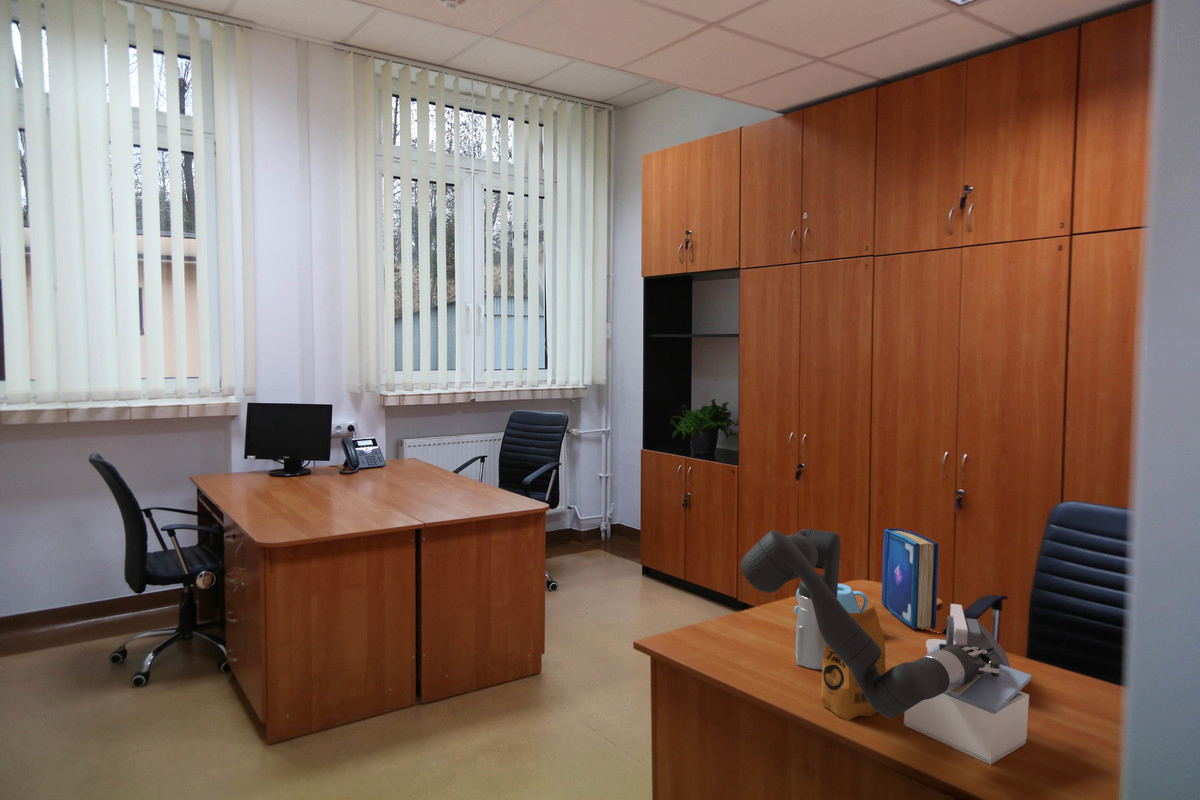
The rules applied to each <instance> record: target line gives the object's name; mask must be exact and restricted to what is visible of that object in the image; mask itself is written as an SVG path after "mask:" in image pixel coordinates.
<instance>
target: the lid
mask: <svg viewBox="0 0 1200 800" xmlns="http://www.w3.org/2000/svg"><path fill="white" fill-rule="evenodd" d="M940 644H941V643H940ZM937 650H939V645H938V646H937V647H935V648H934V649H933V650H932V651H930V652H929V653H932V652H934V651H937ZM929 653H928V654H929ZM926 655H927V654H925V655H924V656H926ZM985 665H987V663H985ZM1032 679H1033V677H1032V675H1031V674H1029V673H1026V672H1023V671H1020V670H1017V669H1014V668H1012V667H1011V668H1009V667H1007V666H1004V665H1001V664H1000V666H999V677H994V676H992V674H991V673H989V672H984V673H983V674H978V675H976V676H975V677H974V678H973V680H972V681H971V682H969V683H967V684H965V685H963V686H961V687H959V688H957V689H955V690H952V691H950V692H947V693H946V694H948V695H951V696H953V697H956V698H958V699H961V700H963V701H965V702H968V703H970V704H973V705H975V706H978V707H980V708H983V709H985V710H988V711H990V712H993V713H995V714H996V713H997V712H999V711H1000V710H1001V709H1002V708H1003V707H1004V706H1005V705H1006V704H1007V703H1008V702H1009V701H1010V700H1011V699H1012V698H1013V697H1014V696H1015V695H1016V694H1017V693H1018V692H1019V691H1020V692H1021V690H1022V689H1023V688H1024V687H1025V686H1026V685H1027V684H1028V683H1029V682H1030V681H1031V680H1032Z"/></svg>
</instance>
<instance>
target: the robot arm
mask: <svg viewBox="0 0 1200 800" xmlns="http://www.w3.org/2000/svg"><path fill="white" fill-rule="evenodd" d="M841 549H842V542H841V537H840V535H839V533H837V532H834V531H826V530H818V529H812V528H811V529H810V528H804V529H800V530H799V531H797V532H796V533H795V534H794V533H793V534H789V535H785V534H783V533H781V532H780V531H777V530H770V531H769V532H767V533H766V534H764V536H762V538H761V539H759V540H758V542H757V543H755V544H754V545H753V546H752V547H751V548H750V549H749V550H748V551H747V552H746V553H745V554H744V556H743V557H742V559H741V562H740V568H741V573H742V574H743V576H744V578H745V580H746V582H747V583H748V584H750V585H751V586H752V588H754V589H756V590H758V591H760V592H763V593H765V594H766V593H768V594H772V593H776V592H778V590H780V589H781V588H782V587H784V585H785V584H786V583H787V582H790V581H793V580H796V579H797V578H799V579H800V580H801V581H800V582H799V584H798V589H799V598H798V600H797V604H798V609H797V610H798V615H797V619H796V624H795V625H796V626H795V629H796V630H795V652H794V656H795V661H796V665H797V666H801V667H805V668H808V669H812V670H822V665H823V655H824V651H825V648H826V646H827V645H828V646H829V647H830V648H831V649H832V650H833V651H834V653H835V654H836V655H837V656H838V657H839V658H840V659H841V660H842V661H843V662H844V663H845V664H846V665H847V666H848V667H849V669H850V670H851V672H852V674H853V675H854V677H855V679H856V681H857V683H858V684H859V686H860V688H861V690H862V691H863V693H864V695H865V697H866V698H867V700H868V702H869V703H870V705H871V706H872V707H873V708H874V709H875V710H876V711H877V712H876V713H878V714H881V716H884V717H886V718H896V717H899V716H900V715H903V714H905V711H907V710H908V709H910V708H911V707H913V706H915V705H916V704H918V703H919V702H921V701H923V700H927V699H931V698H934V697H936V696H938V695H940V694H942V693H947V692H950V691H952V690H955V689H957V688H959V687H961V686H963V685H965V684H967V683H969V682H971V681H972V680H973V678H974V677H975V676H976V675H978V674H983V673H984V672H989V673H991V674H992V676H994V677H999V666H1000V664H999V662H998V661H997V659H996V657H995V649H994V647H992V646H989V645H984V646H980V647H971V648H969V646H968V645H961V644H939V650H937V651H934V652H932V653H929V654H927V653H926V654H925V655H926V656H925V655H924V656H923V657H921V658H918V659H916V660H914V661H905V662H901V663H900V664H897V665H895V666H893V667H891V668H890V669H888V670H887V671H885V673H884V674H883V675H880V673H879V672H878V670H877V668H876V665H875V663H876V662H877V661H878V659H879V658H880V656H881V648H880V647H879V645H878V644H877V643H876V642H875V641H874V640H873V639H872V638H871V637H870V636H869V635H868V633H867V632H866V631H865V630H864V629H863V628H862V627H861V626H860V625H859V624H858V623H857V622H856V621H855V620H854V619H853V618H852V617H851V615H850V614H849V613H848V612H847V611H846V610H845V608H844V607H843V606H842V605H841V604H840V602H839V601H838V600H837V591H838V583H839V573H840V572H839V570H840V560H841ZM816 569H821V570H823V573H821V574H819V573H818V572H817V570H816ZM985 663H987V665H985Z"/></svg>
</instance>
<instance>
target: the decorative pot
mask: <svg viewBox="0 0 1200 800" xmlns="http://www.w3.org/2000/svg"><path fill="white" fill-rule="evenodd" d="M795 595H796V599H797V601H798V598H799V588H797V590H796V593H795ZM856 596H859V597H862V598H863V603H862V606H861V609H860V608H859V607H860V606H859V603H858V601H857V597H856ZM868 599H869V598H868V596H867V595H866V594H865V593H864V592H862V591H860V590H853V589H852V587H851V586H849V585H847V584H843V583H839V582H838V591H837V600H838V601H839V602H840V604H841V605H842V606H843V607H844V608H845V610H846V611H847V612H849V613H862V612H863V611H864V610H865V609H866V608H867V607H868V602H869V600H868ZM793 612H794V614H796V616H798V605H795V606H794V611H793Z"/></svg>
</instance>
